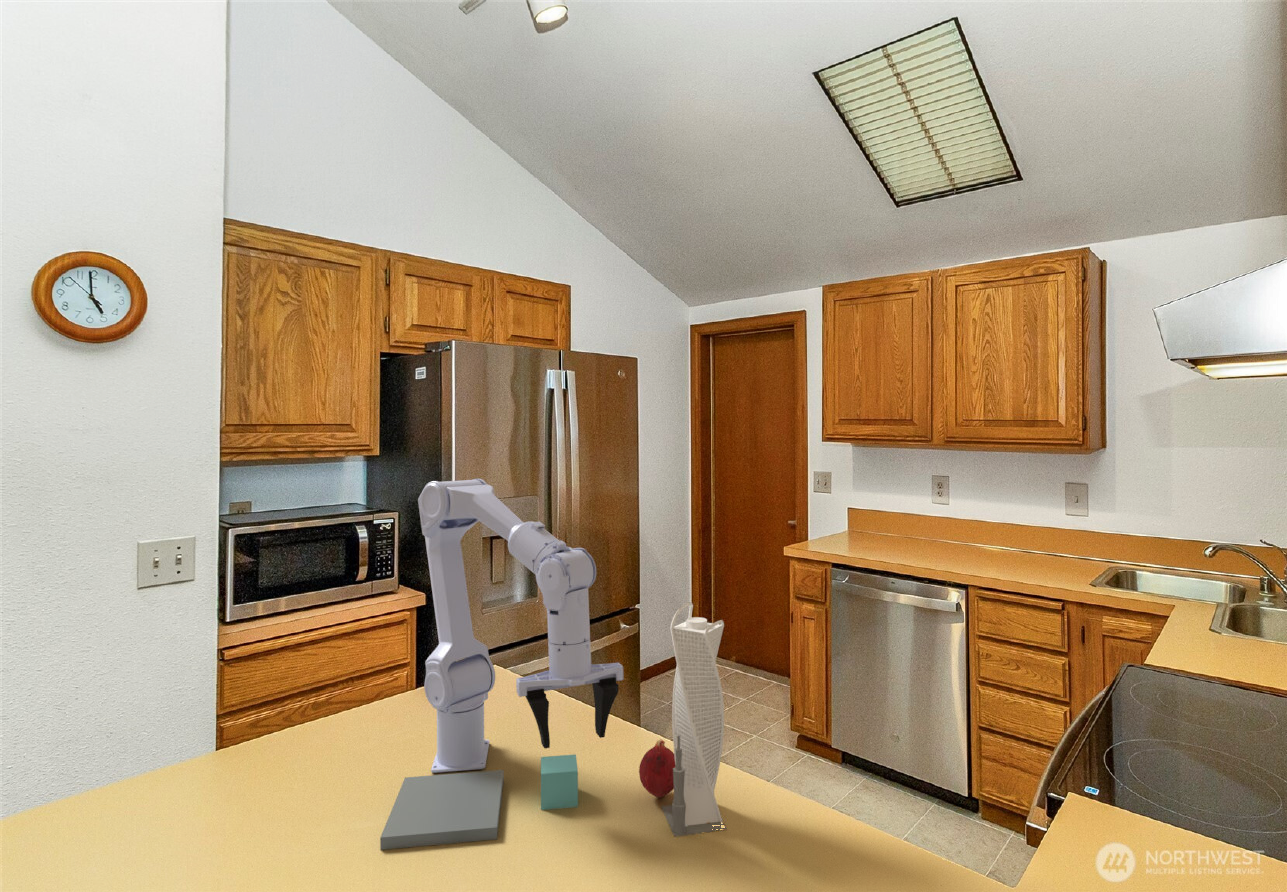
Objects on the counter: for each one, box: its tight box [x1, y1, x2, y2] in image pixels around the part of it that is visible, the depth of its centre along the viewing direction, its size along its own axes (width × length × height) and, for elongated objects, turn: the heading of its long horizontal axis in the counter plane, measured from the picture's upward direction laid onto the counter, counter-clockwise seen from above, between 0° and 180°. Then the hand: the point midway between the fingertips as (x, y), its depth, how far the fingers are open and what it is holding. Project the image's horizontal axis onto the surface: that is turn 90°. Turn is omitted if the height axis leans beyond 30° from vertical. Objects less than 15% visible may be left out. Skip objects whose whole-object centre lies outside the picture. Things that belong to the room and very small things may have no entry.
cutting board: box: [379, 769, 505, 851], centre depth 91 cm, size 15×14×2 cm
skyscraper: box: [661, 602, 728, 838], centre depth 90 cm, size 8×8×28 cm
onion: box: [638, 738, 676, 799], centre depth 94 cm, size 6×6×8 cm
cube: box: [540, 754, 579, 811], centre depth 94 cm, size 5×5×5 cm
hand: (573, 739), depth 91 cm, fingers open, 7 cm apart
